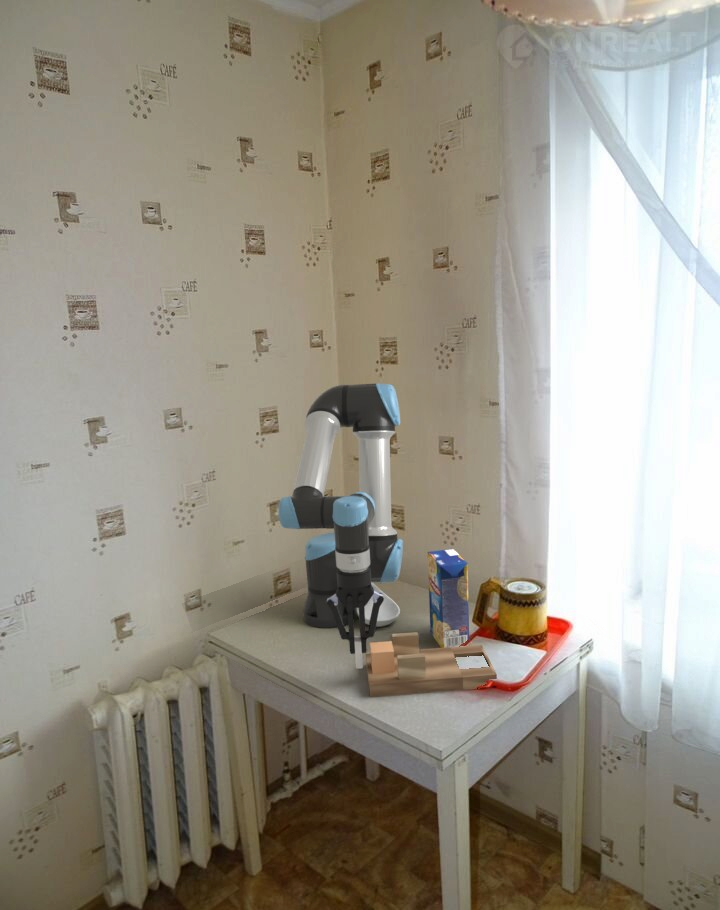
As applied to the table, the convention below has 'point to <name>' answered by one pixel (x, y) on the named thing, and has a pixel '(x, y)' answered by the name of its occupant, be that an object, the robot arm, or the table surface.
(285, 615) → the table surface
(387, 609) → the spoon rest
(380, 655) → the block
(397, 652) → the deck
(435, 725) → the table surface
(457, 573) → the beverage box
